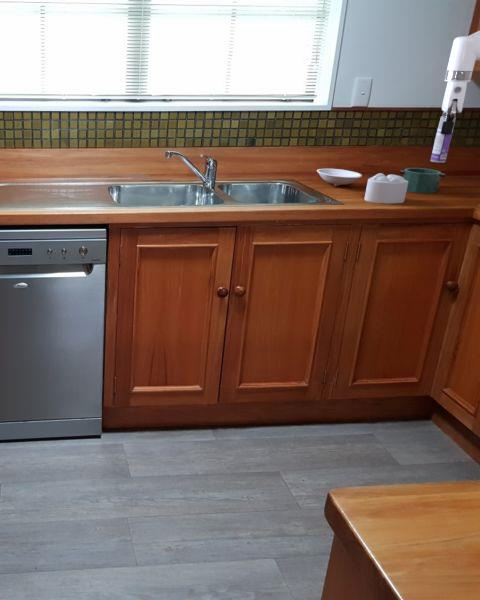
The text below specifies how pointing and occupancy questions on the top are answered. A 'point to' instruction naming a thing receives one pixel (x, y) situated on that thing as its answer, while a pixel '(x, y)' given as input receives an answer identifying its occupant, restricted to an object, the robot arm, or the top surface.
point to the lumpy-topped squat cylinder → (386, 189)
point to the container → (441, 144)
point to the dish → (338, 176)
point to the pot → (422, 180)
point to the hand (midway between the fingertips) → (444, 132)
